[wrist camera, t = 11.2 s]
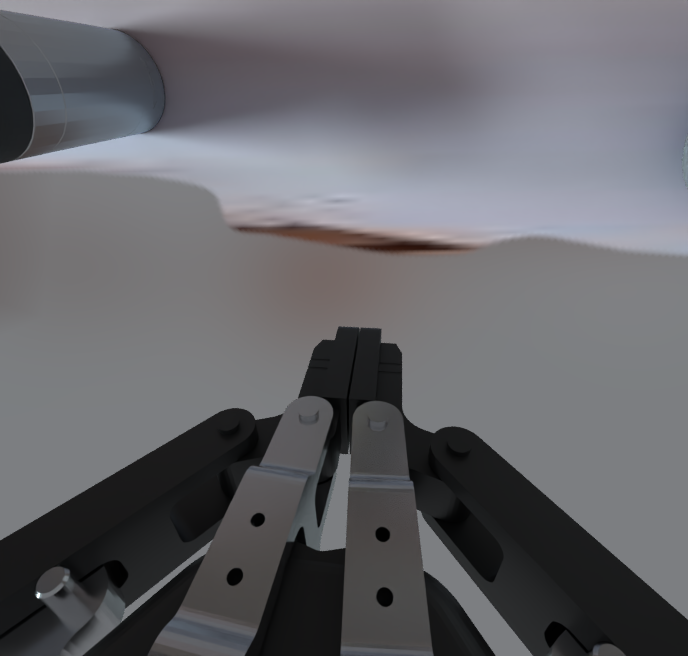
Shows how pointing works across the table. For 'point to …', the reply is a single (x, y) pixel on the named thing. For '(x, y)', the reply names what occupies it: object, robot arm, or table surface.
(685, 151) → the cereal bowl
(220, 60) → the table surface
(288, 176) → the table surface
